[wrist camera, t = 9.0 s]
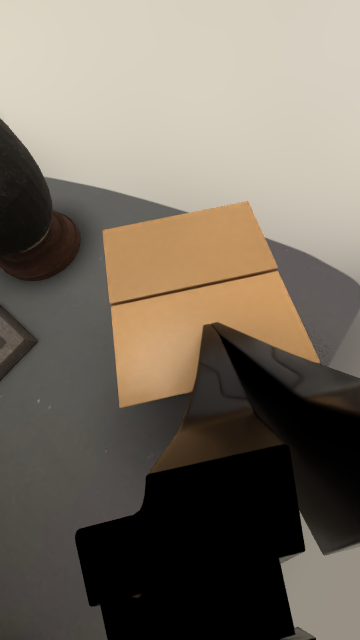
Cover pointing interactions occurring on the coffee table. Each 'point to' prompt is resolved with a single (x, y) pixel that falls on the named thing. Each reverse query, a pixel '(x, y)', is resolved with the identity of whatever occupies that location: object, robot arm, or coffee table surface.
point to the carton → (184, 253)
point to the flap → (197, 332)
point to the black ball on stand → (30, 217)
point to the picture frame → (12, 342)
